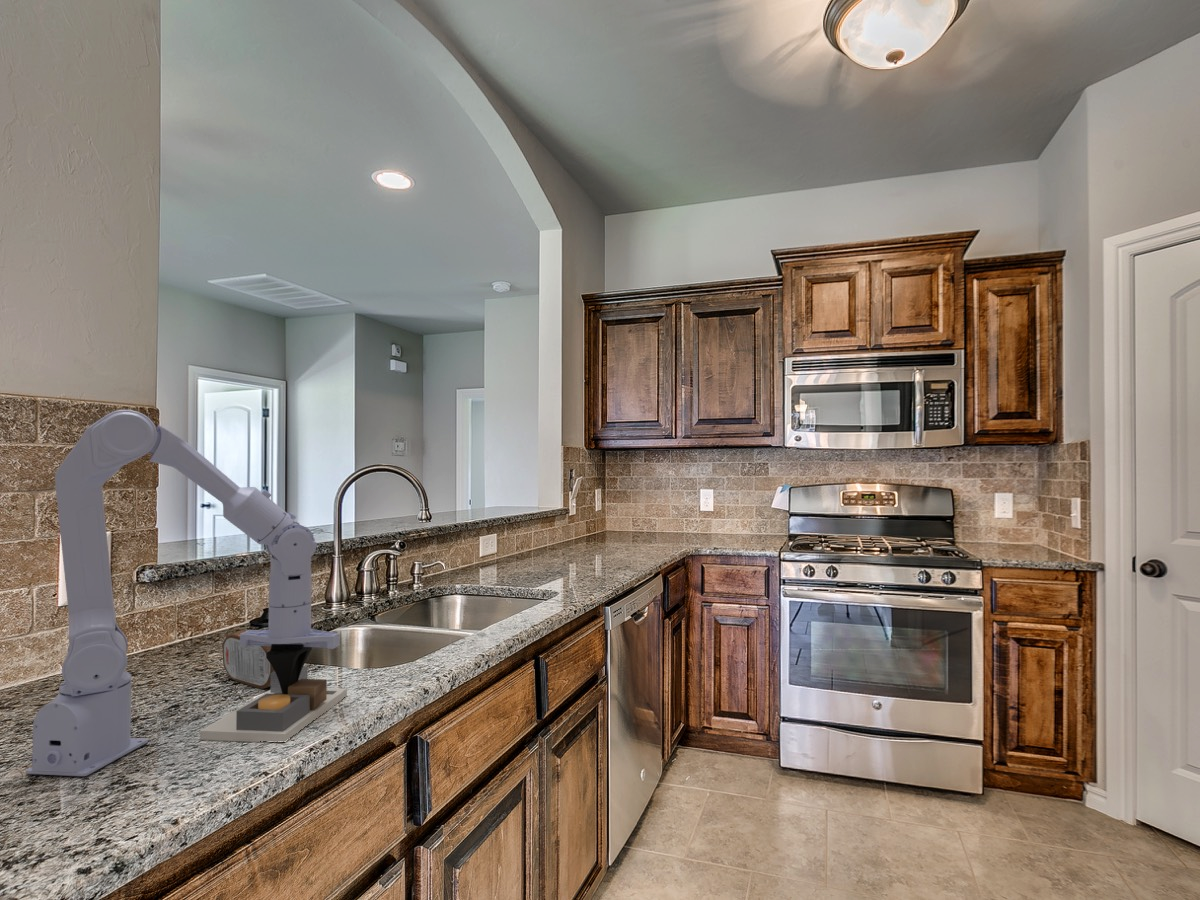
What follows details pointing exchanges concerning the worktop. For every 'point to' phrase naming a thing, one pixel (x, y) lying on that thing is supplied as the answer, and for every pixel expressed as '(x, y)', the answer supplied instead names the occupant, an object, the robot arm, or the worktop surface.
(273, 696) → the orange button
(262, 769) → the worktop surface
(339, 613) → the worktop surface
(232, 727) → the panel
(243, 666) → the tin
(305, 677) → the grey slider
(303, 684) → the small cardboard carton
